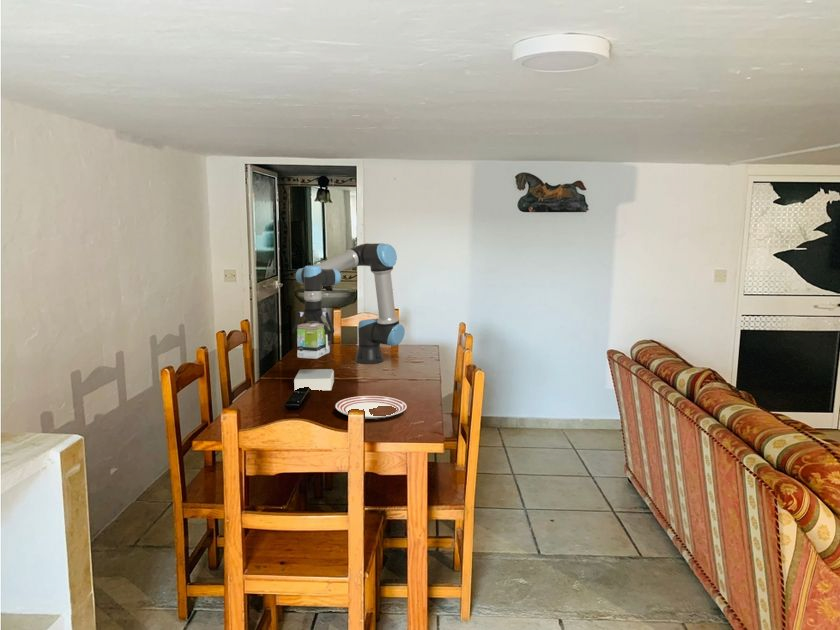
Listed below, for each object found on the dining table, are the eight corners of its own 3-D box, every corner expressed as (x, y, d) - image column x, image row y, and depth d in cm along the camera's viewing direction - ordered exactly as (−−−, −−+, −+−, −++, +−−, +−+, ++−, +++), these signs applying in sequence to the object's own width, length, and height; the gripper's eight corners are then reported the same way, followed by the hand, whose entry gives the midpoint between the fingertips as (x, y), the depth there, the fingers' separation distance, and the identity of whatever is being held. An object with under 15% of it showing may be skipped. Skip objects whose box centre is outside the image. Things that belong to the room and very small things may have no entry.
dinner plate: (406, 402, 235) (406, 394, 235) (407, 423, 208) (407, 415, 208) (339, 402, 235) (339, 395, 234) (331, 424, 207) (331, 415, 207)
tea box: (318, 359, 250) (317, 325, 248) (296, 358, 252) (296, 325, 250) (330, 352, 265) (329, 321, 263) (309, 351, 267) (309, 320, 265)
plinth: (333, 381, 268) (333, 368, 268) (331, 390, 253) (330, 377, 252) (299, 381, 267) (299, 369, 266) (294, 390, 251) (294, 377, 251)
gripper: (284, 301, 250) (286, 350, 253) (338, 301, 252) (339, 350, 255) (287, 299, 258) (288, 347, 261) (340, 299, 260) (340, 346, 262)
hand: (313, 348), depth 258 cm, fingers closed on tea box, 11 cm apart
